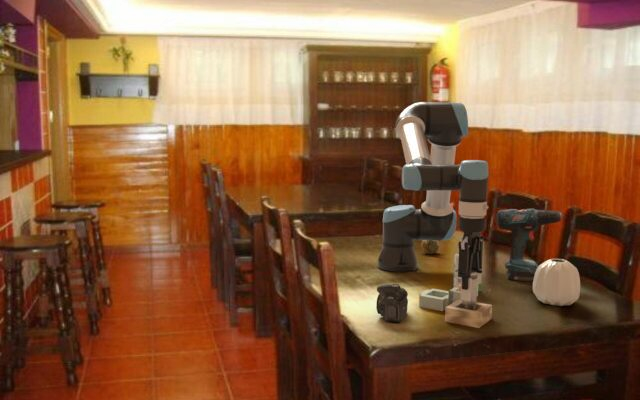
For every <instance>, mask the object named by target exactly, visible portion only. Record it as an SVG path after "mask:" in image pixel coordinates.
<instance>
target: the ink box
mask: <svg viewBox="0 0 640 400" xmlns="http://www.w3.org/2000/svg"><path fill="white" fill-rule="evenodd" d="M453 258H454V259H453V261H454V262H453V288H454V287H456V286H458V285H460V284H461V277H458V263H459V253H454V255H453ZM481 270H482V271H483V268H482V269H481ZM478 274H479V280H478V292H482V285H483V283H482V281H483V278H482V277H483V272H482V273H478Z"/></svg>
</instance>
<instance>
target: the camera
mask: <svg viewBox="0 0 640 400" xmlns="http://www.w3.org/2000/svg"><path fill="white" fill-rule="evenodd" d="M376 292H377V293H378V295H377V299H376V312H377V314H378V315H380V316H381V317H383V318H384V321H385V322H391V323H400V322H401V321H403V319H404V318H405V317H406V316H407V313H408V303H409V299H408V295H409V293H408V291H407V290H406V289H405V288H403V287H401V285H400V284H399V283H393V284H392V283H390V284H389V283H388V284H381V285H378V286H377V287H376Z"/></svg>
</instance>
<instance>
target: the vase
mask: <svg viewBox="0 0 640 400" xmlns="http://www.w3.org/2000/svg"><path fill="white" fill-rule="evenodd" d="M532 292H533V294H534V295H535V298H537V300H538V301H539V302H541V303H543V304H547V305H551V306H559V307H564V306H571V305H573V304H574V303H576V302H577V301H578V300H579V298H580V293H581V279H580V273H579V270H578V268H577V267H576V266H575V265H574V264H572V263H571V262H570V261H568V260H566V259H563V258H550V259H548V260H545V261H544V262H542V263H541V264H539V265H538V268H537V270H536V272H535V276H534V280H533V281H532Z"/></svg>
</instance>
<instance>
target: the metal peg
mask: <svg viewBox="0 0 640 400" xmlns="http://www.w3.org/2000/svg"><path fill="white" fill-rule="evenodd" d="M477 277H478V274H477V272H476V271H471V275H470V278H472V282H471V301H465V300H462V308H463V309H468V310H473V311H476V302H477V297H478V296H477Z"/></svg>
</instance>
